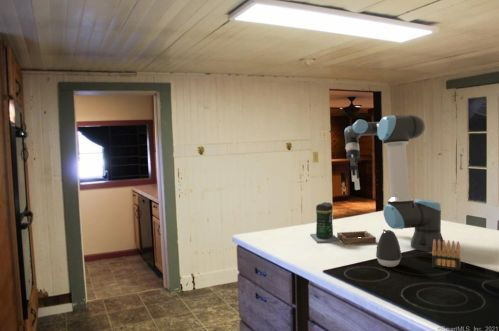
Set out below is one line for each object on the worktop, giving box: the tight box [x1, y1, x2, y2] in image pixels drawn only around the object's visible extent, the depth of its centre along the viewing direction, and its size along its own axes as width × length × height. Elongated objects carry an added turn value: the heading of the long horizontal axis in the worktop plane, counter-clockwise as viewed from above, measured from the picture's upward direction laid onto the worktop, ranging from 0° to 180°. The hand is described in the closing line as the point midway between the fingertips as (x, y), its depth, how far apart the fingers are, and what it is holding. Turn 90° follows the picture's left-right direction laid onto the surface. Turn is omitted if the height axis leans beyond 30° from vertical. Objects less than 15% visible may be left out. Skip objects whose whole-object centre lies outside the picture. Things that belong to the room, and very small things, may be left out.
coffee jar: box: [315, 201, 334, 239], centre depth 222 cm, size 10×8×19 cm
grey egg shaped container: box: [375, 229, 402, 268], centre depth 176 cm, size 10×10×15 cm
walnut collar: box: [336, 230, 377, 246], centre depth 217 cm, size 14×16×3 cm
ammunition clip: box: [431, 239, 462, 269], centre depth 169 cm, size 11×2×12 cm, turn 59°
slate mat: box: [310, 233, 341, 244], centre depth 223 cm, size 16×12×1 cm
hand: (356, 185), depth 234 cm, fingers open, 13 cm apart
